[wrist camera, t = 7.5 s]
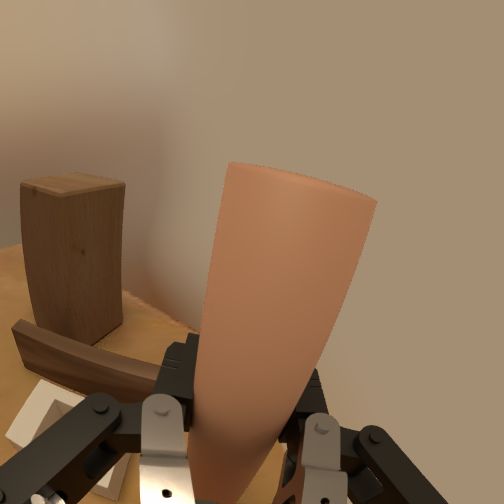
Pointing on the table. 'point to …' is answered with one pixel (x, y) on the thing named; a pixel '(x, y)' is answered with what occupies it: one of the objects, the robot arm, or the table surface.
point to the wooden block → (73, 253)
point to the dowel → (266, 315)
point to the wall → (84, 365)
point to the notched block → (46, 414)
